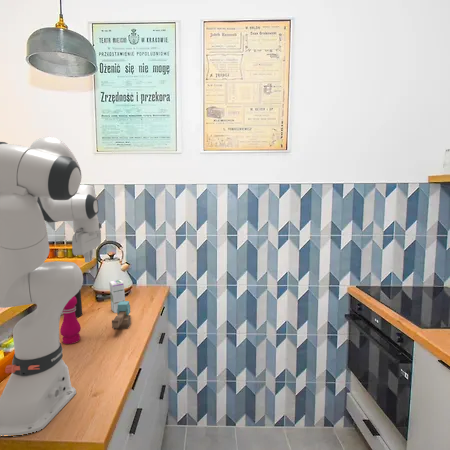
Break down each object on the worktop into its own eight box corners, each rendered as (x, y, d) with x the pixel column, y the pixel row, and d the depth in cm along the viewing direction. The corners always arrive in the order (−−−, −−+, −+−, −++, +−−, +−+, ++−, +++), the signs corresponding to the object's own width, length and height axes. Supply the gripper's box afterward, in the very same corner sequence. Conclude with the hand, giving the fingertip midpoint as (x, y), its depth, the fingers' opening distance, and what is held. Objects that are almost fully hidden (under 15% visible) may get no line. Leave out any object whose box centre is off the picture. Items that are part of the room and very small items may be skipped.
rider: (128, 315, 138) (127, 304, 137) (117, 315, 138) (116, 304, 137) (130, 311, 142) (129, 301, 141) (120, 312, 142) (119, 301, 141)
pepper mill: (73, 345, 121) (69, 295, 118) (56, 344, 122) (52, 294, 120) (85, 336, 128) (81, 289, 125) (69, 335, 129) (65, 288, 127)
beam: (123, 337, 127) (122, 318, 126) (108, 337, 127) (107, 318, 126) (134, 316, 147) (133, 300, 146) (121, 317, 147) (120, 300, 146)
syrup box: (126, 310, 155) (124, 281, 153) (113, 313, 151) (112, 284, 150) (122, 307, 159) (121, 279, 158) (110, 309, 156) (108, 281, 154)
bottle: (85, 315, 150) (82, 274, 147) (70, 320, 145) (67, 277, 142) (78, 311, 154) (75, 271, 152) (64, 316, 149) (60, 275, 147)
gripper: (84, 230, 112) (86, 268, 114) (103, 223, 132) (105, 255, 134) (65, 230, 112) (68, 268, 113) (87, 223, 132) (89, 256, 134)
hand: (88, 261), depth 124 cm, fingers closed
